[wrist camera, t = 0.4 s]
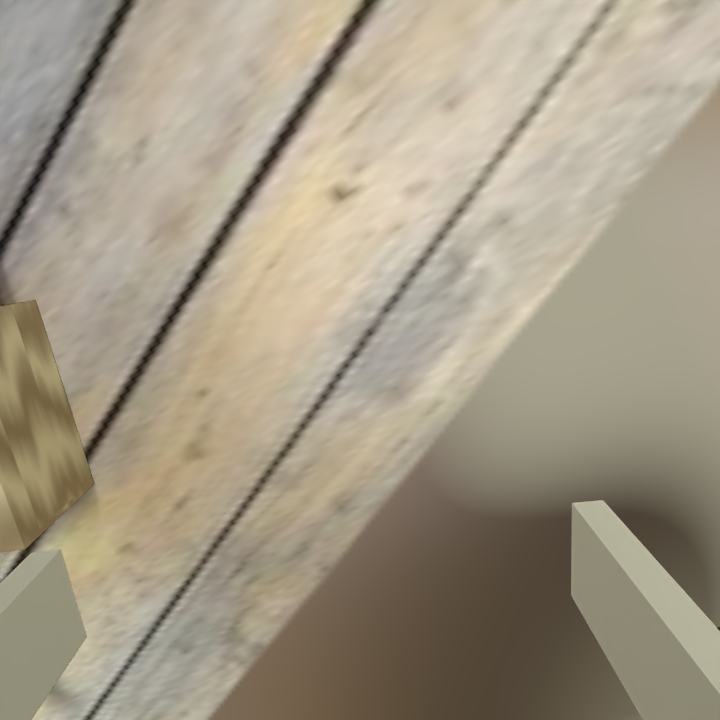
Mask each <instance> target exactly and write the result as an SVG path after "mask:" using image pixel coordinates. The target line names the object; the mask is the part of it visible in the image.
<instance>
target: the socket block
mask: <svg viewBox="0 0 720 720" xmlns="http://www.w3.org/2000/svg"><path fill="white" fill-rule="evenodd" d="M93 484H94V481H93V478H92V475H91V472H90V469H89V466H88V462H87V459H86V456H85V453H84V450H83V447H82V444H81V441H80V438H79V434H78V431H77V428H76V425H75V422H74V419H73V416H72V413H71V409H70V406H69V403H68V400H67V397H66V394H65V391H64V388H63V385H62V381H61V378H60V375H59V372H58V369H57V366H56V363H55V360H54V356H53V353H52V350H51V347H50V344H49V341H48V338H47V335H46V331H45V328H44V325H43V322H42V319H41V316H40V313H39V310H38V307H37V303H36V300H32V301H26V302H20V303H13V304H7V305H1V306H0V552H7V551H15V550H22V549H26V548H27V547H28V546H29V545H30V544H31V543H32V542H33V541H34V540H35V539H36V538H37V537H39V536H40V535H41V534H42V533H43V532H44V531H45V530H46V529H47V528H48V527H49V526H50V525H51V524H52V523H53V522H54V521H55V520H56V519H58V518H59V517H60V516H61V515H62V514H63V513H64V512H65V511H66V510H67V509H68V508H69V507H70V506H71V505H72V504H73V503H74V502H75V501H77V500H78V499H79V498H80V497H81V496H82V495H83V494H84V493H85V492H86V491H87V490H88V489H89V488H90V487H91V486H92V485H93Z"/></svg>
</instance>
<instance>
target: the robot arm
mask: <svg viewBox="0 0 720 720" xmlns="http://www.w3.org/2000/svg"><path fill="white" fill-rule="evenodd" d="M571 568H572V569H571V573H572V574H571V578H572V579H571V596H572V597H573V599H574V601H575V602H576V604H577V606H578V608H579V609H580V611H581V613H582V615H583V616H584V618H585V620H586V622H587V623H588V625H589V627H590V629H591V630H592V632H593V634H594V635H595V637H596V639H597V641H598V642H599V644H600V646H601V648H602V649H603V651H604V653H605V655H606V656H607V658H608V660H609V661H610V663H611V665H612V667H613V668H614V670H615V672H616V674H617V675H618V677H619V679H620V681H621V682H622V684H623V686H624V687H625V689H626V691H627V693H628V694H629V696H630V698H631V700H632V701H633V703H634V705H635V707H636V708H637V710H638V712H639V713H640V715H641V717H642V718H643V720H720V627H716V626H715V625H714V624H713V623H712V622H711V621H710V620H709V619H708V618H707V616H706V615H705V614H704V613H703V612H702V611H701V610H700V609H699V608H698V606H697V605H696V604H695V603H694V602H693V601H692V600H691V598H690V597H689V596H688V595H687V594H686V593H685V592H684V591H683V589H682V588H681V587H680V586H679V585H678V584H677V583H676V582H675V581H674V579H673V578H672V577H671V576H670V575H669V574H668V573H667V572H666V571H665V570H664V568H663V567H662V566H661V565H660V564H659V563H658V561H657V560H656V559H655V558H654V557H653V556H652V555H651V554H650V553H649V551H648V550H647V549H646V548H645V547H644V546H643V545H642V544H641V542H640V541H639V540H638V539H637V538H636V537H635V536H634V535H633V534H632V532H631V531H630V530H629V529H628V528H627V527H626V526H625V525H624V524H623V522H622V521H621V520H620V519H619V518H618V517H617V516H616V515H615V513H614V512H613V511H612V510H611V509H610V508H609V507H608V506H607V504H606V503H605V502H604V501H603V500H600V501H589V502H578V503H572V565H571ZM86 638H87V635H86V632H85V629H84V625H83V622H82V619H81V615H80V612H79V609H78V605H77V602H76V599H75V595H74V592H73V589H72V585H71V582H70V579H69V575H68V572H67V569H66V565H65V562H64V559H63V555H62V552H61V550H51V551H40V552H32V553H31V554H30V555H29V556H28V557H27V558H26V559H25V560H23V561H22V562H21V563H20V564H19V565H18V566H17V567H16V568H15V569H14V570H13V571H12V572H11V573H10V574H9V575H8V576H7V577H6V578H5V579H4V580H3V581H2V582H1V583H0V720H32V718H33V717H34V715H35V714H36V712H37V711H38V709H39V708H40V706H41V705H42V703H43V702H44V700H45V699H46V697H47V696H48V694H49V693H50V691H51V690H52V688H53V687H54V685H55V684H56V682H57V681H58V679H59V678H60V676H61V675H62V673H63V672H64V670H65V669H66V667H67V666H68V664H69V663H70V661H71V660H72V658H73V657H74V655H75V654H76V652H77V651H78V649H79V648H80V646H81V645H82V644H83V642H84V641H85V639H86Z"/></svg>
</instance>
